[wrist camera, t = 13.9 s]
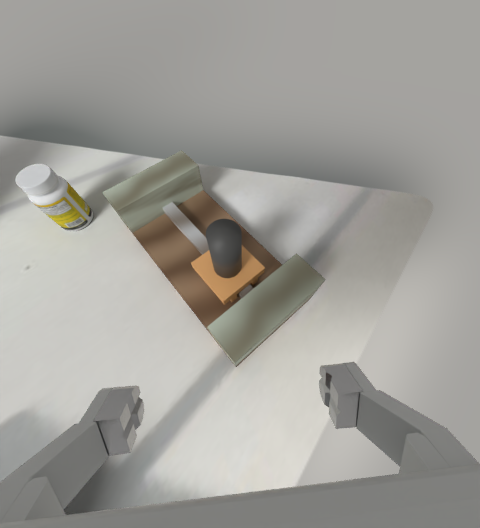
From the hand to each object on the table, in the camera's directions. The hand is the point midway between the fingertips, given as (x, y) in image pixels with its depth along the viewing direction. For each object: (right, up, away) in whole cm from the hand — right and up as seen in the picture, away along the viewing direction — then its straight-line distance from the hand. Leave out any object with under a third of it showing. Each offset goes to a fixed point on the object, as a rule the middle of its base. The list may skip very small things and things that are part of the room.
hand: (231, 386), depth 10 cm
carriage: (-1, +4, +18) cm, 19 cm away
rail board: (-4, +6, +21) cm, 23 cm away
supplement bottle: (-24, +12, +25) cm, 36 cm away
